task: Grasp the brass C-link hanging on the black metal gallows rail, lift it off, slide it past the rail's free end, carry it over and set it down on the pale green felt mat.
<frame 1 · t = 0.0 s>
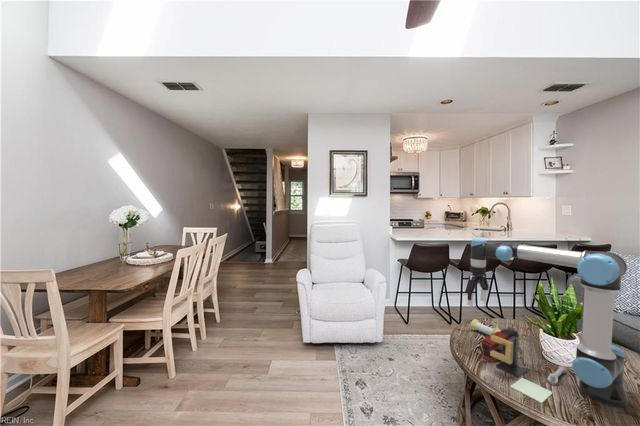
hand: (476, 303, 155), 28 cm above the table, fingers open, 13 cm apart
c link: (501, 359, 135), point 8 cm above the table, touching stand
mat: (531, 390, 125), on the table
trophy: (495, 340, 170), on the table
stand: (511, 369, 140), on the table
grey bone: (557, 379, 133), on the table
toy gun: (499, 357, 151), on the table
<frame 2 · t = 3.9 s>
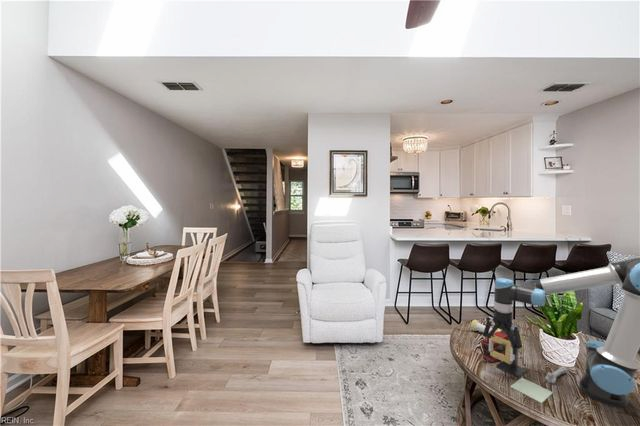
hand: (501, 355, 135), 10 cm above the table, fingers closed on c link, 9 cm apart
c link: (501, 359, 135), point 8 cm above the table, touching gripper, stand
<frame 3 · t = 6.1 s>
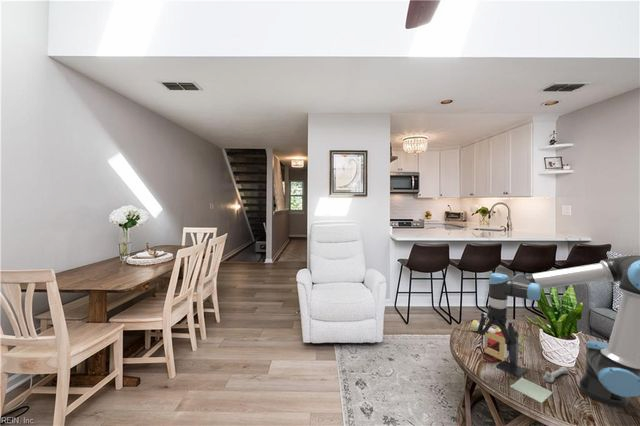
hand: (495, 351, 132), 13 cm above the table, fingers closed on c link, 9 cm apart
c link: (495, 355, 132), point 11 cm above the table, touching gripper
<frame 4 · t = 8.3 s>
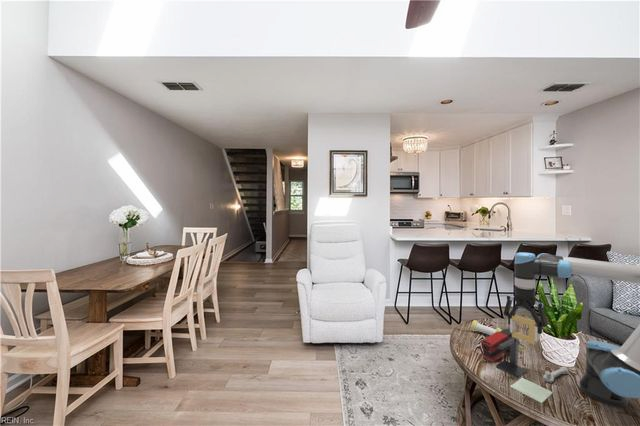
hand: (524, 335, 125), 25 cm above the table, fingers closed on c link, 9 cm apart
c link: (524, 339, 125), point 23 cm above the table, touching gripper
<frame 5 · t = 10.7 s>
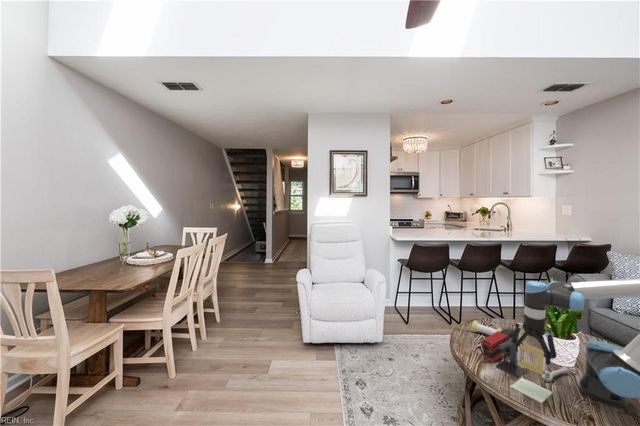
hand: (531, 364, 124), 12 cm above the table, fingers closed on c link, 9 cm apart
c link: (531, 368, 124), point 10 cm above the table, touching gripper
when the fingers open (4 cm above the table, at t = 12.9 s): c link drops 2 cm, resting on mat.
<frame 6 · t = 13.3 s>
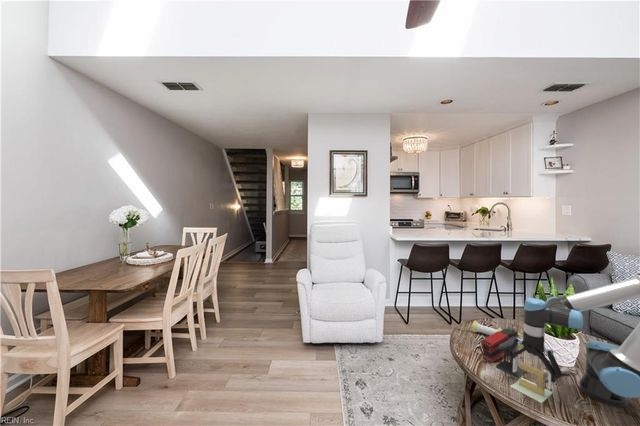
hand: (531, 379, 124), 5 cm above the table, fingers open, 13 cm apart
c link: (531, 389, 125), resting on mat
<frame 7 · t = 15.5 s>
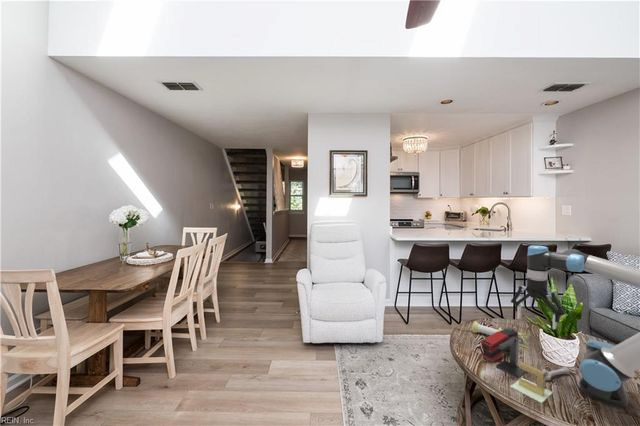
hand: (536, 323, 129), 28 cm above the table, fingers open, 13 cm apart
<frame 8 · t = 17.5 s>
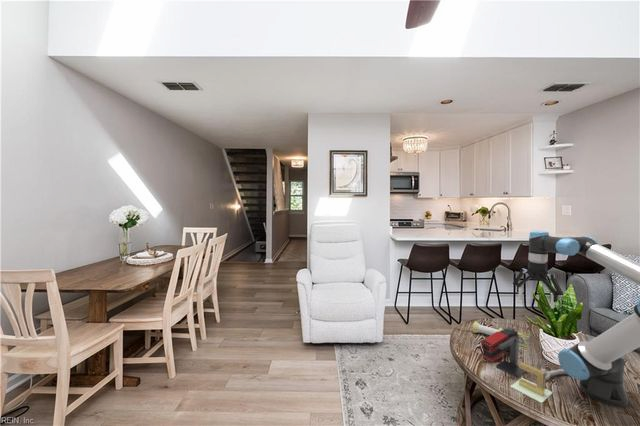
hand: (535, 303, 138), 35 cm above the table, fingers open, 13 cm apart
at the end: c link inside the target area on the mat (0.0 cm from its centre), point 0.4 cm above the mat's base; c link touching mat; the gripper is holding nothing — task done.
